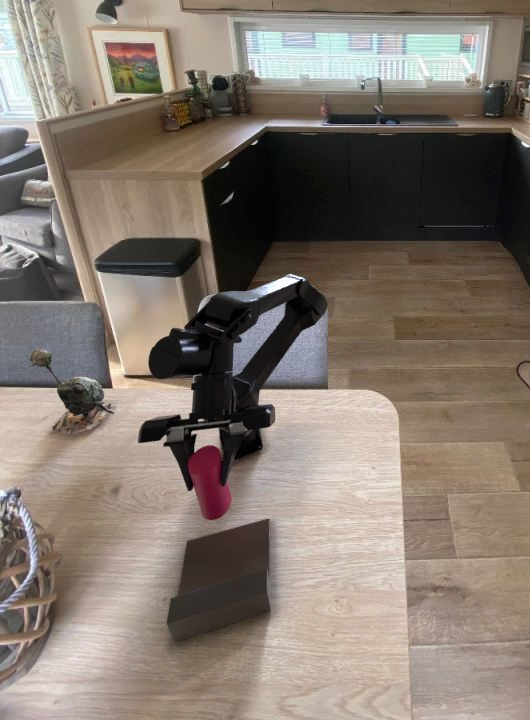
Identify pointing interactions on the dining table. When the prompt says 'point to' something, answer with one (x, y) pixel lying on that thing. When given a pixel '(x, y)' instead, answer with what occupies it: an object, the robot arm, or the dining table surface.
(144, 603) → the dining table surface
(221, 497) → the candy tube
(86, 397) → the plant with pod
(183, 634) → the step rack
